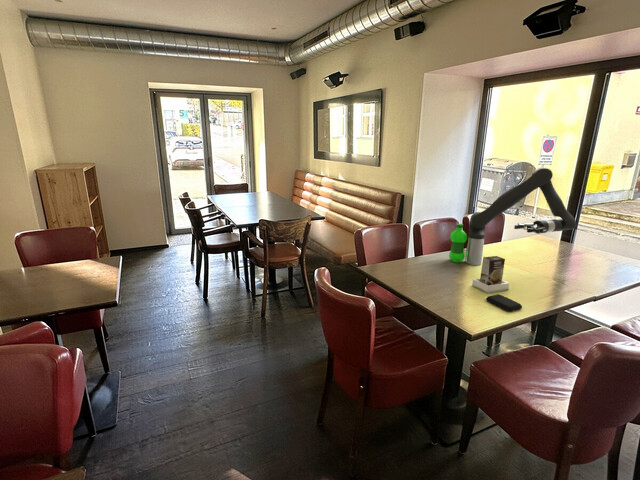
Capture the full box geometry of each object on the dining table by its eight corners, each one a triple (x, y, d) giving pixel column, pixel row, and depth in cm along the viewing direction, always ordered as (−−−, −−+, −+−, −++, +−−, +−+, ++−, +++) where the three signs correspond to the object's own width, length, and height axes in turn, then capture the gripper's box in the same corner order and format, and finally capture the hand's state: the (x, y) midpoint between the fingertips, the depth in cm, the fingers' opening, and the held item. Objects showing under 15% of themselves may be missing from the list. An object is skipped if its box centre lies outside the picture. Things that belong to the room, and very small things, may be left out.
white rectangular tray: (472, 285, 193) (472, 279, 192) (492, 282, 197) (493, 275, 196) (487, 293, 183) (488, 286, 181) (508, 290, 187) (509, 283, 186)
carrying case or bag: (525, 309, 166) (499, 297, 179) (526, 303, 165) (500, 292, 178) (509, 314, 162) (483, 301, 175) (510, 308, 161) (484, 295, 174)
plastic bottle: (467, 263, 228) (471, 226, 221) (450, 263, 228) (454, 226, 222) (461, 258, 238) (465, 222, 231) (445, 258, 238) (449, 222, 231)
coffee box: (487, 289, 185) (491, 260, 181) (479, 284, 191) (482, 256, 187) (501, 287, 188) (505, 258, 183) (492, 283, 194) (496, 255, 189)
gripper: (533, 217, 205) (511, 219, 200) (556, 222, 192) (533, 224, 187) (531, 230, 207) (509, 232, 202) (553, 235, 194) (531, 238, 189)
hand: (521, 228), depth 195 cm, fingers open, 8 cm apart
